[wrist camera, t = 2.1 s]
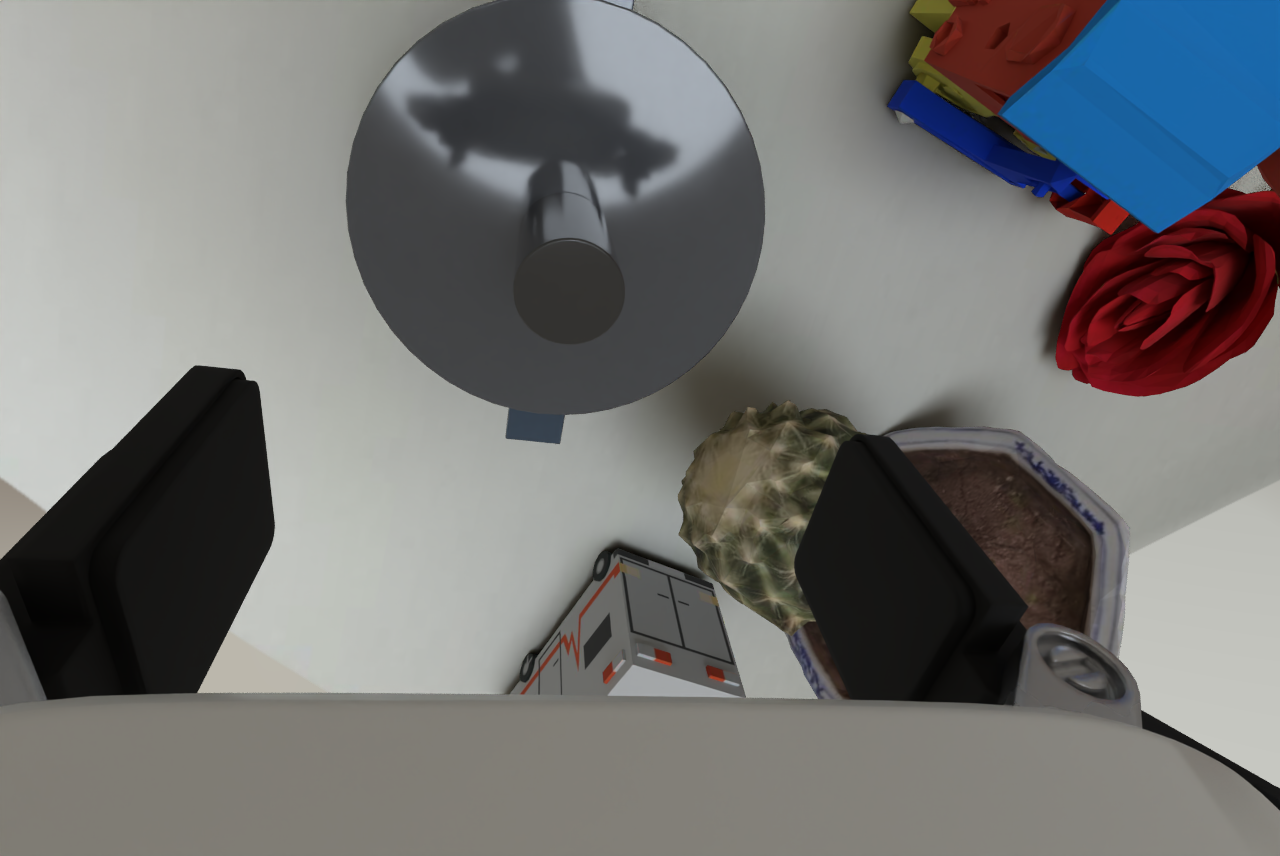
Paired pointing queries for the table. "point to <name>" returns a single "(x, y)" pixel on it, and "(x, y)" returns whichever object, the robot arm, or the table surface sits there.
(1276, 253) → the flower
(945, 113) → the toy train
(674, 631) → the toy vehicle
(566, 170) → the lid
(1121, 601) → the potted plant
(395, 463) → the table surface
